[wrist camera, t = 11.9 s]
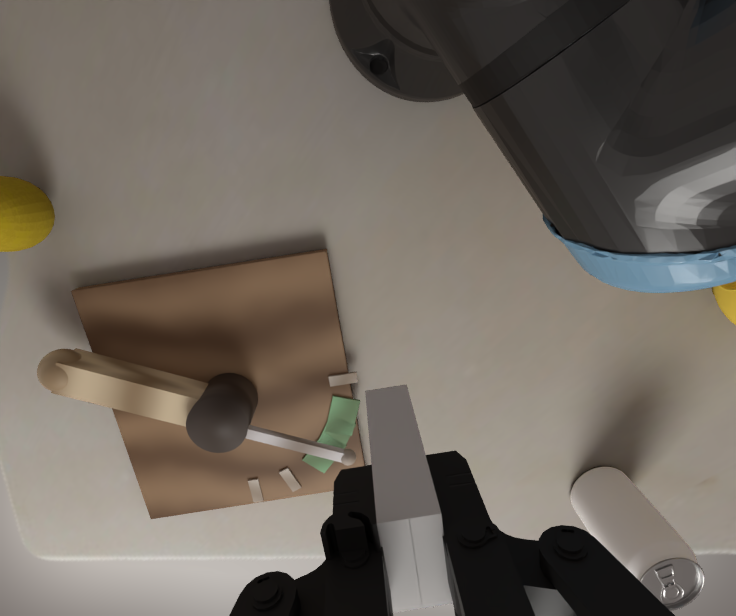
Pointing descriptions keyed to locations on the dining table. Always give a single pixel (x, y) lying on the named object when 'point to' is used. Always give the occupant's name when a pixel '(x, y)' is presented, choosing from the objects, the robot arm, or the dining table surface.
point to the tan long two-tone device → (173, 401)
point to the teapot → (726, 299)
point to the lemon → (23, 214)
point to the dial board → (233, 355)
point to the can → (637, 535)
